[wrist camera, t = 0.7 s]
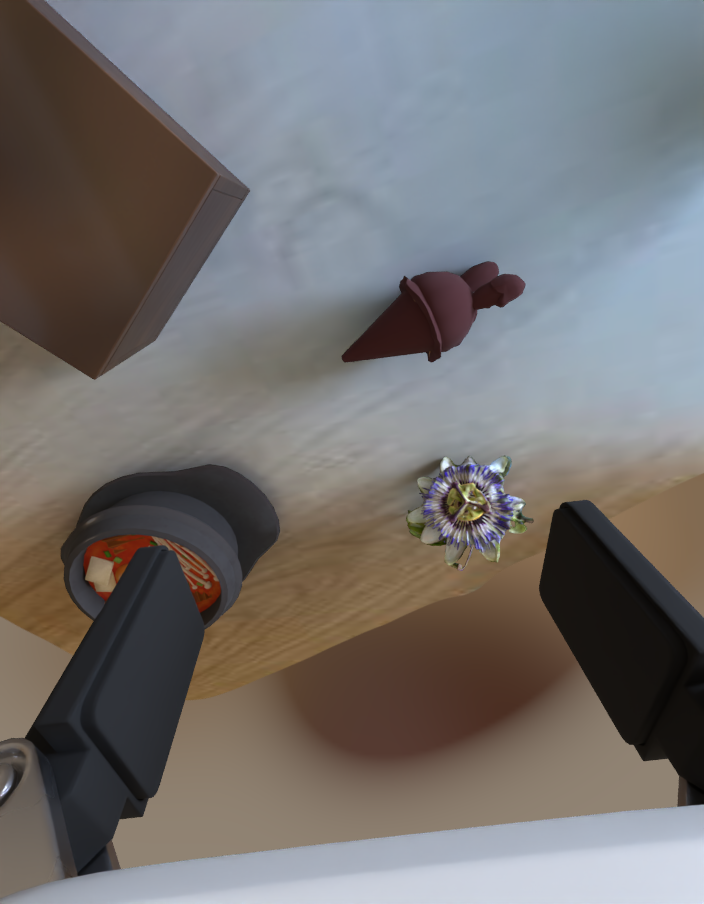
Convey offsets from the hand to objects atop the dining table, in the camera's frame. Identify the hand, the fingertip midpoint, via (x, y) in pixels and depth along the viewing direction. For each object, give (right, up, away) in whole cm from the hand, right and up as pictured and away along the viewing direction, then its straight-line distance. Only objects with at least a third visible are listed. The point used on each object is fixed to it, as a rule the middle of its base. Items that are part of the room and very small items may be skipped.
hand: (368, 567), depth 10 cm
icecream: (+5, +15, +26) cm, 31 cm away
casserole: (-20, -6, +36) cm, 42 cm away
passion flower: (+11, -1, +35) cm, 37 cm away
